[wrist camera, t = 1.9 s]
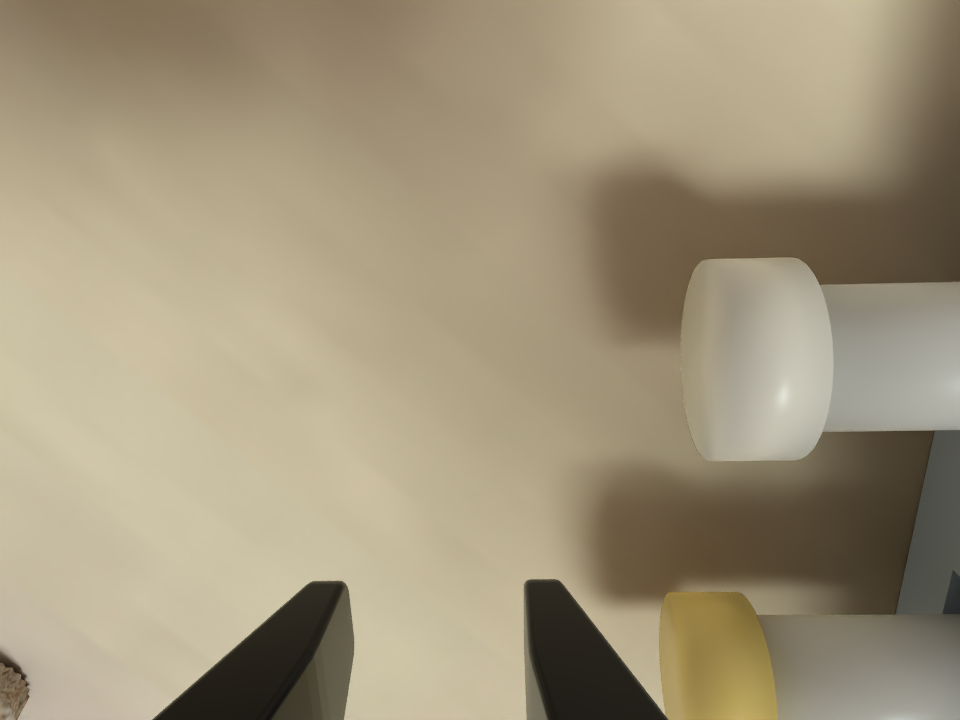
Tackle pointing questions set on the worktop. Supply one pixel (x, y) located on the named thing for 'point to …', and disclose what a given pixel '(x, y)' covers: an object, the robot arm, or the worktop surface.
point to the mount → (936, 535)
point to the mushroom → (11, 693)
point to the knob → (812, 358)
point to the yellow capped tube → (804, 663)
